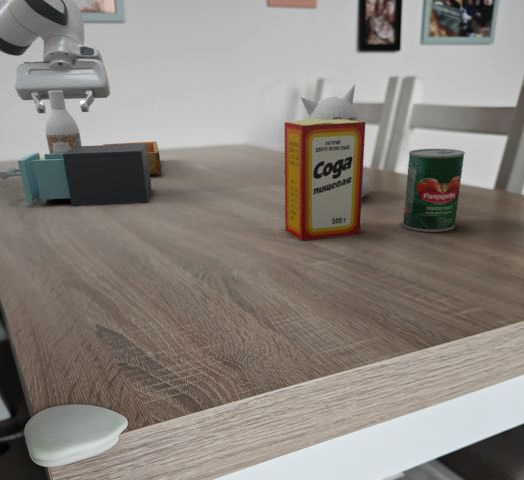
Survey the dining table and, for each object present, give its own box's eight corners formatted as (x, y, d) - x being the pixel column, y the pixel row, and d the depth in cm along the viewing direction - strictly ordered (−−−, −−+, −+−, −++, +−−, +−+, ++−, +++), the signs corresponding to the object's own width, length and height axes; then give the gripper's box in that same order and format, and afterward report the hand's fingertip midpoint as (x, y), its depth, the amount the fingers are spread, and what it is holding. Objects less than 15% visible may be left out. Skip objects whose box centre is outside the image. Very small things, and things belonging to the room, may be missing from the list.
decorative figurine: (303, 208, 100) (304, 86, 91) (284, 193, 113) (283, 85, 104) (380, 202, 103) (388, 83, 94) (353, 188, 115) (358, 82, 107)
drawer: (1, 203, 106) (-9, 161, 103) (17, 192, 117) (9, 153, 113) (97, 199, 108) (90, 157, 105) (105, 188, 118) (99, 150, 115)
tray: (106, 163, 161) (102, 142, 158) (158, 160, 163) (156, 139, 161) (98, 180, 134) (95, 155, 131) (161, 176, 136) (159, 152, 134)
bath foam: (52, 191, 122) (33, 91, 113) (61, 185, 128) (43, 90, 119) (84, 190, 122) (67, 90, 113) (91, 184, 128) (76, 89, 119)
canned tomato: (429, 235, 82) (438, 156, 77) (392, 224, 88) (397, 151, 83) (466, 226, 85) (476, 151, 80) (427, 217, 91) (434, 147, 86)
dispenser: (71, 205, 107) (62, 153, 103) (83, 193, 119) (75, 146, 114) (147, 202, 109) (141, 150, 104) (151, 190, 120) (146, 143, 116)
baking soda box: (339, 223, 89) (343, 116, 82) (359, 233, 83) (365, 119, 76) (285, 230, 86) (284, 119, 79) (302, 240, 81) (302, 122, 74)
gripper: (11, 51, 122) (8, 101, 118) (105, 49, 124) (106, 98, 120) (21, 74, 128) (19, 122, 124) (111, 71, 130) (112, 119, 125)
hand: (62, 110), depth 122 cm, fingers open, 8 cm apart
